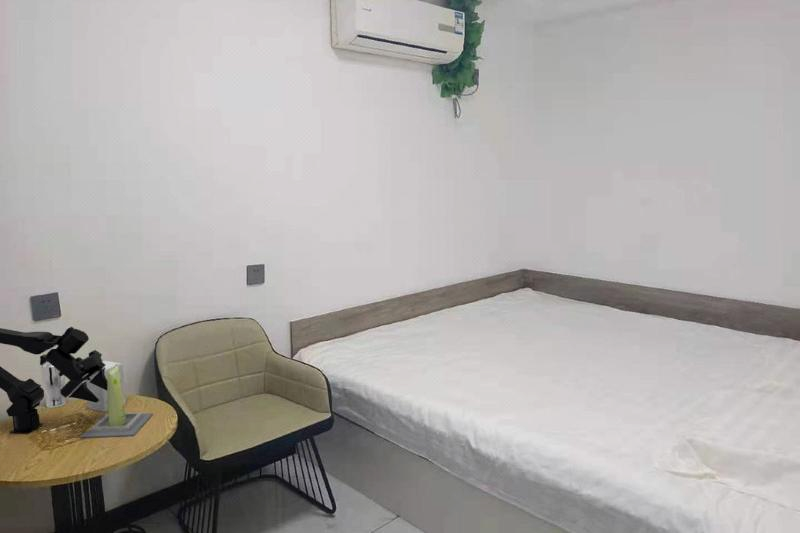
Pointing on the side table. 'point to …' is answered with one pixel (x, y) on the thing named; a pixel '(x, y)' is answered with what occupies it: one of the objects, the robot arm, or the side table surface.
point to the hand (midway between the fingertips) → (104, 395)
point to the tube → (115, 398)
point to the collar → (103, 429)
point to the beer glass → (53, 385)
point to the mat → (119, 434)
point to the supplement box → (101, 393)
